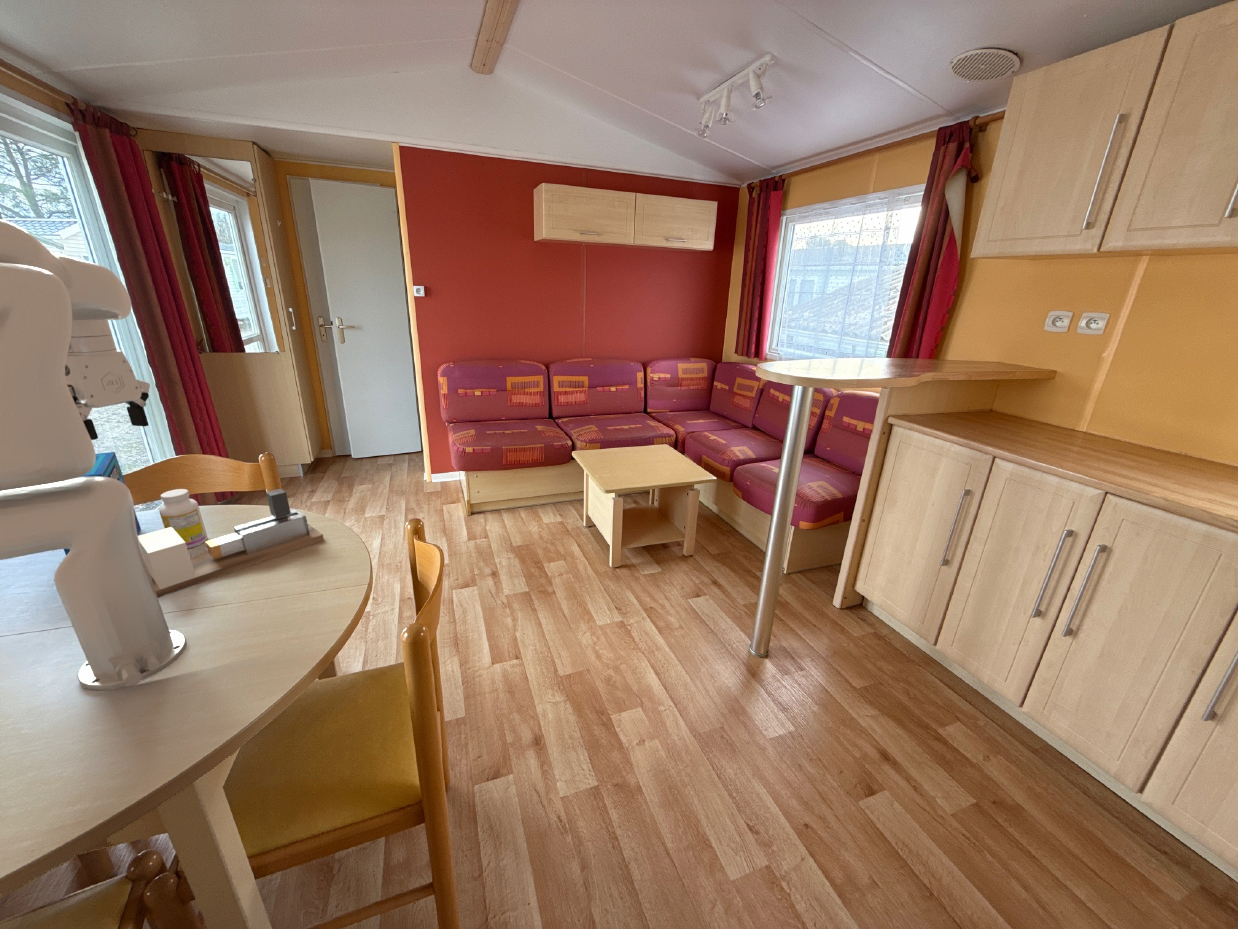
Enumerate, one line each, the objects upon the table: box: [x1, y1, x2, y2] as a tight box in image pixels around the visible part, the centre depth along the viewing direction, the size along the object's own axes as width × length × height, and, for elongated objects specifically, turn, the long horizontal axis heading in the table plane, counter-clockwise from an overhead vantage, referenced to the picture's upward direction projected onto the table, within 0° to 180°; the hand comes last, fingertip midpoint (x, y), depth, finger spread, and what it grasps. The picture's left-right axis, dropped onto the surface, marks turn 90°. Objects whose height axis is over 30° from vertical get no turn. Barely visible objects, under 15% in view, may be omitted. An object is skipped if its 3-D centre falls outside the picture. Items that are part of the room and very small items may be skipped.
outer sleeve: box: [233, 508, 310, 555], centre depth 112 cm, size 6×12×5 cm, turn 142°
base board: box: [149, 523, 325, 598], centre depth 108 cm, size 10×30×2 cm, turn 142°
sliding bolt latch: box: [204, 488, 291, 560], centre depth 109 cm, size 4×17×10 cm, turn 142°
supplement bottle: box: [158, 488, 208, 550], centre depth 112 cm, size 7×7×13 cm
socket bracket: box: [138, 527, 196, 589], centre depth 98 cm, size 10×6×8 cm, turn 52°
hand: (116, 432), depth 98 cm, fingers open, 9 cm apart
